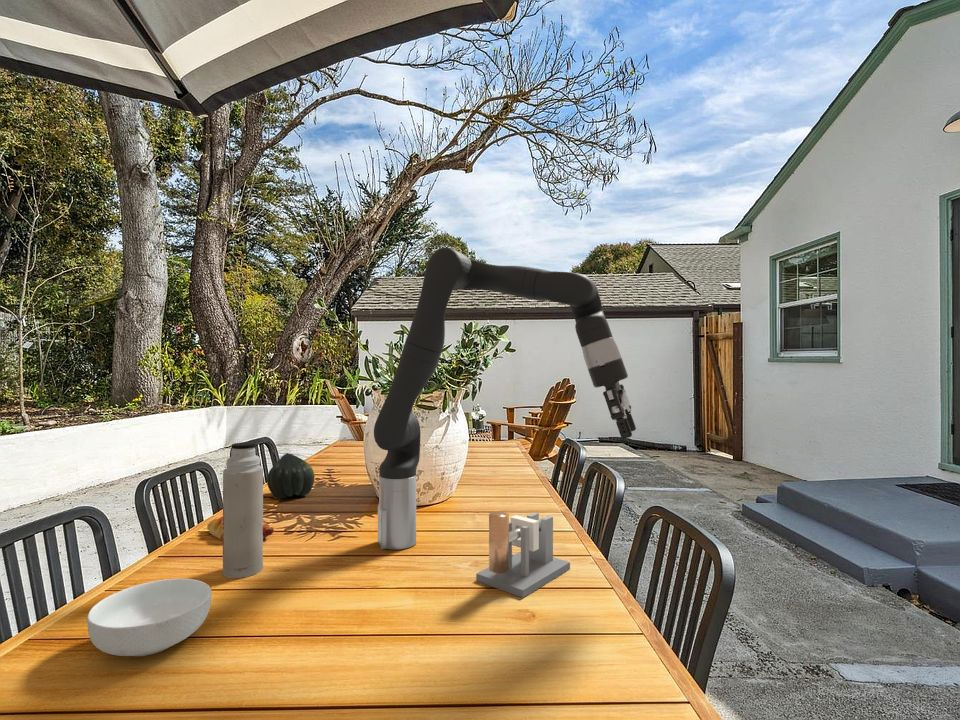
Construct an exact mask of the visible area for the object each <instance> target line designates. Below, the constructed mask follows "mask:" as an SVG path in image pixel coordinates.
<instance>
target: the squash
mask: <svg viewBox="0 0 960 720" xmlns="http://www.w3.org/2000/svg"><path fill="white" fill-rule="evenodd" d="M266 483H267V487H268V490H269V492H270V493H271V494H272V495H273V496H274V497H277V498H279V499H287V498H289V497H293V496H297V497H301V496H302V497H304V496H307V495H308V494H309V493H310V492H311V491H312V488H313V487H314V483H315V472H314V470H313V467H312V466H311V465H310V464H309V463H308V462H307V461H306V460H304V459H302V458H300V457H298V456H296V455H295V454H292V453H288V452H286V453H285V454H283V455H282V456H281V457H280V458H279V459H278V460H277V461H276V463H274V465H273V466H272V467H271V468H270V470H269V471H268V474H267V477H266Z"/></svg>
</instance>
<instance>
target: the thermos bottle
mask: <svg viewBox="0 0 960 720" xmlns="http://www.w3.org/2000/svg"><path fill="white" fill-rule="evenodd" d="M256 447H257V443H256V442H254V441H253V442H252V441H245V442H243V441H242V442H236V443H232V444H231V451H230V457H229V458H228V459H226V463H225V465H226V468H225V469H223V471H222V516H223V540H222V575H223V577H225V578H227V579H242V577H244V578H247V577H251V575H252V576H255V575H257V574H258V573H260V572H262V570H263V568H264V538H263V522H264V467H263V466H262V465H261V464H262V463H261V459H260V458H261V457H260V456H259V455H256V454H257V453H256Z"/></svg>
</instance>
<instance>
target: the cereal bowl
mask: <svg viewBox="0 0 960 720" xmlns="http://www.w3.org/2000/svg"><path fill="white" fill-rule="evenodd" d="M211 605H212V588H211V586H210V585H209V584H207V583H206V582H204V581H201V580H197V579H193V578H168V579H160V580H153V581H149V582H144V583H139V584H136V585H133V586H130V587H128V588H124V589H122V590H119V591H116V592H113V594H112V593H111V594H110V595H109V596H106V597H105V598H103V599H101V600H100V601H98V602H97V603H96V604H95V605H93V606H92V608H91V609H90V610H89V612H88V613H87V617H86V618H87V619H86V623H87V624H86V625H87V632H88V633H87V634H88V636H89V640H90V641H91V643H92V644H93V646H95V647H96V648H97V649H98V650H99V651H101V652H103V653H105V654H109V655H113V656H118V657H120V656H121V657H145V656H151V655H154V654H158V653H160V652H163V651H165V650H167V649H169V648H170V647H171V648H172V647H173V646H174V645H176V644H178V643H180V642H182V641H184V640H185V639H187V638H188V637H190V636H191V635H193V634H194V633H195V632H196V631H197V630H198V629H199V628H200V627H201V626H202V625H203V623H204V622H205V620H206V618H208V615H209V612H210V609H211Z"/></svg>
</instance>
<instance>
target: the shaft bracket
mask: <svg viewBox="0 0 960 720" xmlns="http://www.w3.org/2000/svg"><path fill="white" fill-rule="evenodd" d="M526 518H530V519H534V520H538V519H540V514H539V513H538V512H534V511H533V512H532V513H530V514H527V515H526ZM541 518H542V519H541V529H539V549H537V550H536V551H534V552H533V551H530V550H529V527H528V526H522V527H521V548H520V551H519V552H517V553H515V554H513V545H512V542H510V543H509V570H508V571H507V572H505V573H493V572H491V571H490V570H489V566H488V567H487V568H484V569H482V570H480V571H478V572H476V575H475V576H476V578H475V581H476V582H479V583H482V584H484V585H487V586H490V587H493V588H496V589H498V590H500V591H503V592H506V593H508V594H511V595H514V596H517V597H520V598H522V599H524V598H526V597H527V596H529V595H530V594H531V593H532V594H533V592H535V591H537V590H538V589H540V588H542V587H543V586H544V585H546V584H549V582H551V581H553V580H554V579H556V578H558V577H559V576H561V575H563V574H564V573H566V572H567V571H569V570H571V562H570V561H568V560H564V559H561V558H558V557H554V517H553V516H552V515H551V516H550V515H547V516H544V518H543V517H541ZM510 531H512V522H511V521H509V532H510Z"/></svg>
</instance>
